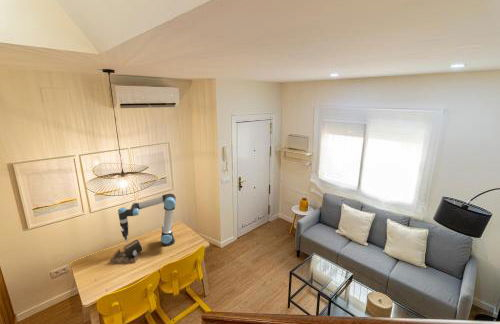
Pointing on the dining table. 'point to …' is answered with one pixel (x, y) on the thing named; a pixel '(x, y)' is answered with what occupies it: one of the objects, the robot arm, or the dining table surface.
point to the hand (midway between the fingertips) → (126, 241)
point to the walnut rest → (123, 258)
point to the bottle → (132, 249)
